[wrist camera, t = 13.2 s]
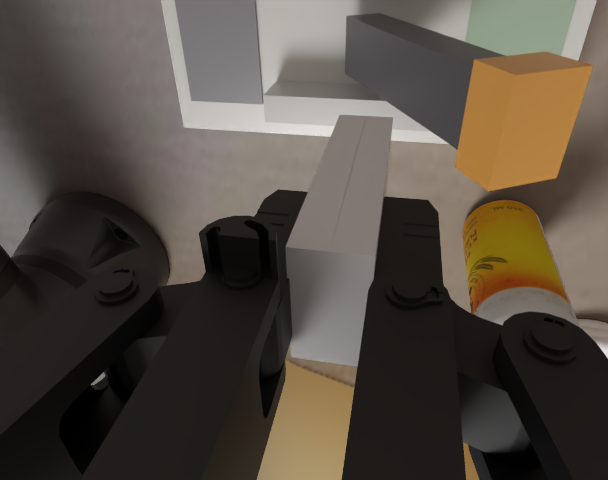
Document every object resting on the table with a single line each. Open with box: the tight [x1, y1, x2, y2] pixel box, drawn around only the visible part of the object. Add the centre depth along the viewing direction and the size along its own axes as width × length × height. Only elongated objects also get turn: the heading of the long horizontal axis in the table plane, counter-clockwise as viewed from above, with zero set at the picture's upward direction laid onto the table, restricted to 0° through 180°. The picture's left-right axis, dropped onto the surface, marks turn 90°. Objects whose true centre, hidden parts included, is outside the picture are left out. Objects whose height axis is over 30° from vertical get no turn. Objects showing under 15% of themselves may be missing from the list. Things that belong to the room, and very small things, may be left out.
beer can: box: [463, 200, 580, 327], centre depth 33 cm, size 6×6×15 cm
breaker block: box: [161, 0, 597, 144], centre depth 28 cm, size 24×12×10 cm, turn 91°
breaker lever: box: [345, 13, 593, 191], centre depth 20 cm, size 3×4×14 cm
